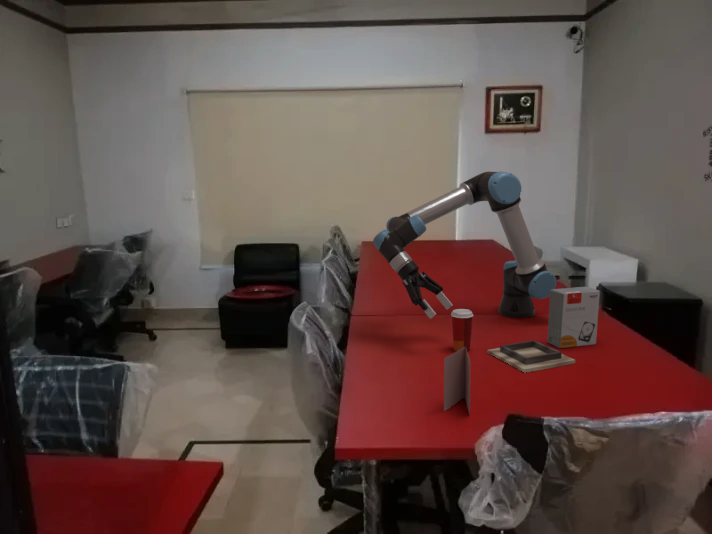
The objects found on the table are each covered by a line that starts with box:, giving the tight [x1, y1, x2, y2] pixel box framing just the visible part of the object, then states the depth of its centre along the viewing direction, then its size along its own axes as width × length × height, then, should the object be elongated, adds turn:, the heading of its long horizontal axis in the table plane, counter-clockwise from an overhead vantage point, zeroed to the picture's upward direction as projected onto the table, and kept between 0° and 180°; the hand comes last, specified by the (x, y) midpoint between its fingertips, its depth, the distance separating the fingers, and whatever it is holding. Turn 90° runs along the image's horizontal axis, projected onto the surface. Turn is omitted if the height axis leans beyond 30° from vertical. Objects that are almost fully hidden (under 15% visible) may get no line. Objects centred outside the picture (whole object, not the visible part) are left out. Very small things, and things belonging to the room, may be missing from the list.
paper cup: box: [450, 308, 474, 352], centre depth 195 cm, size 8×8×14 cm
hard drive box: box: [546, 286, 601, 349], centre depth 198 cm, size 16×8×20 cm, turn 105°
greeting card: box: [443, 347, 471, 416], centre depth 150 cm, size 11×7×15 cm, turn 141°
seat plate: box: [487, 339, 576, 374], centre depth 186 cm, size 20×20×3 cm
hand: (442, 311), depth 197 cm, fingers open, 13 cm apart
